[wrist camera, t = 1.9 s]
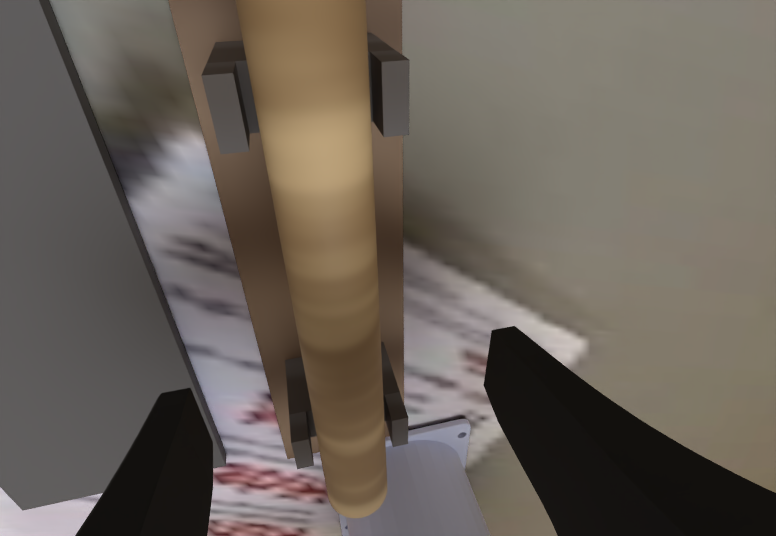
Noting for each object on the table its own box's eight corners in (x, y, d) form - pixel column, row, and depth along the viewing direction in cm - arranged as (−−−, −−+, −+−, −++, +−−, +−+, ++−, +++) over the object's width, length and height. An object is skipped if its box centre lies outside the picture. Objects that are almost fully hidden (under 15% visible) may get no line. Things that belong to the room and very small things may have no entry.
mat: (226, 454, 23) (225, 465, 23) (28, 497, 21) (22, 510, 21) (-45, -238, 9) (-62, -249, 9) (-661, -262, 8) (-721, -275, 7)
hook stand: (399, 417, 25) (427, 507, 21) (286, 442, 24) (292, 542, 20) (389, -222, 11) (468, -322, 7) (115, -232, 10) (19, -357, 6)
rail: (380, 454, 20) (393, 509, 18) (324, 467, 19) (331, 525, 17) (350, -67, 9) (376, -71, 7) (226, -64, 9) (218, -68, 7)
